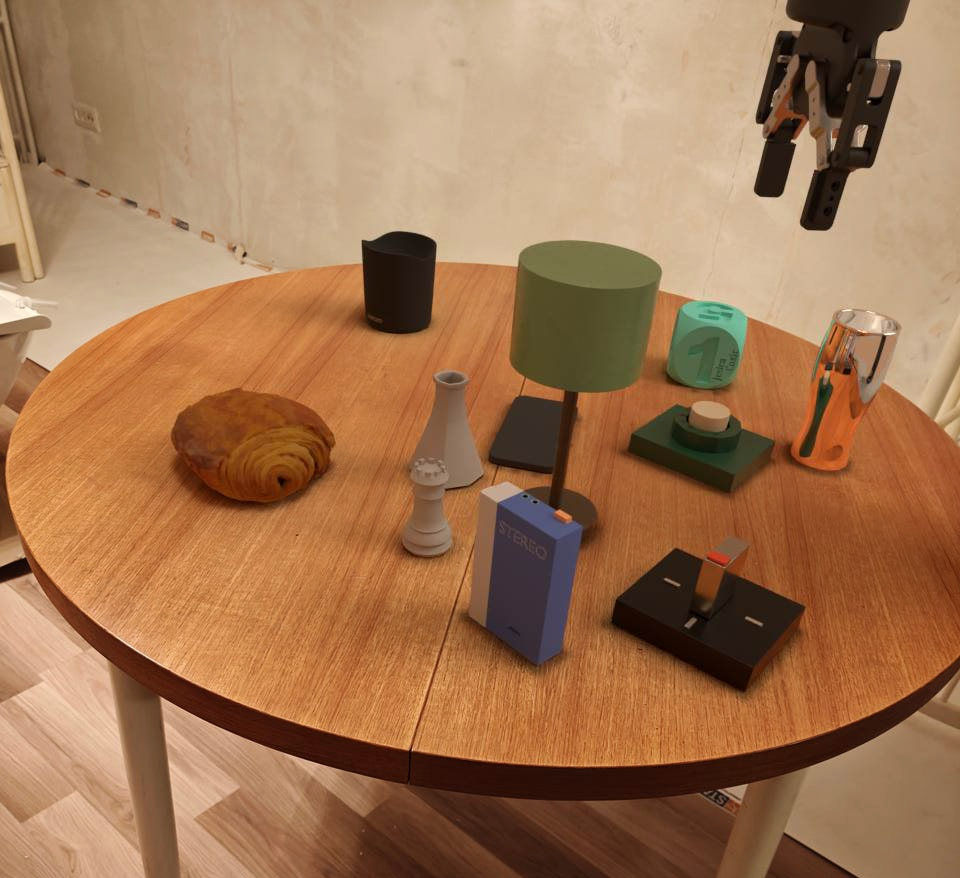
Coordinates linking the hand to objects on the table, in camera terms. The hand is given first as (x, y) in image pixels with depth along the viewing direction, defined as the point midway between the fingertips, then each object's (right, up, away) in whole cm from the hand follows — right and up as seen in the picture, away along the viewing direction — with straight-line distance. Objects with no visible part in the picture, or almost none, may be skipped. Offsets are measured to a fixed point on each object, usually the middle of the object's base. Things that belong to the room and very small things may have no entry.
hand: (789, 211), depth 65 cm
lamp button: (+1, -9, +27) cm, 28 cm away
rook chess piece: (-28, -23, +13) cm, 39 cm away
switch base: (+1, -12, +29) cm, 32 cm away
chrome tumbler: (+14, -12, +31) cm, 36 cm away
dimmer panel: (-5, -31, +7) cm, 32 cm away
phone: (-17, -10, +30) cm, 36 cm away
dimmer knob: (-4, -29, +5) cm, 30 cm away
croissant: (-45, -15, +21) cm, 52 cm away
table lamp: (-16, -21, +17) cm, 31 cm away
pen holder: (-34, +10, +52) cm, 63 cm away
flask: (-26, -15, +23) cm, 38 cm away
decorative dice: (+4, +1, +45) cm, 45 cm away
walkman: (-20, -31, +5) cm, 38 cm away
